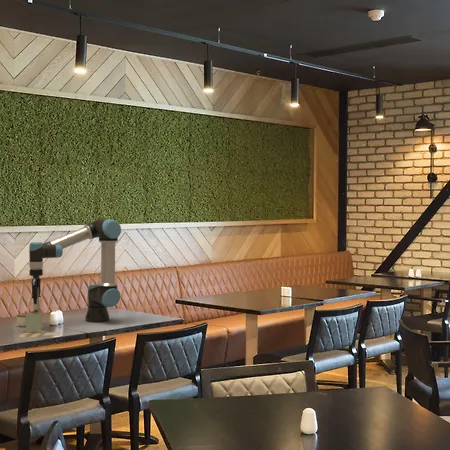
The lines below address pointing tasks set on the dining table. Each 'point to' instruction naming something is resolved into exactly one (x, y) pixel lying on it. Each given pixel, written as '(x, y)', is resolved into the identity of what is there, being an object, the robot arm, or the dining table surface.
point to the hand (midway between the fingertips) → (36, 308)
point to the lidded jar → (22, 319)
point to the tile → (33, 322)
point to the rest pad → (52, 333)
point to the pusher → (38, 306)
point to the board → (31, 334)
